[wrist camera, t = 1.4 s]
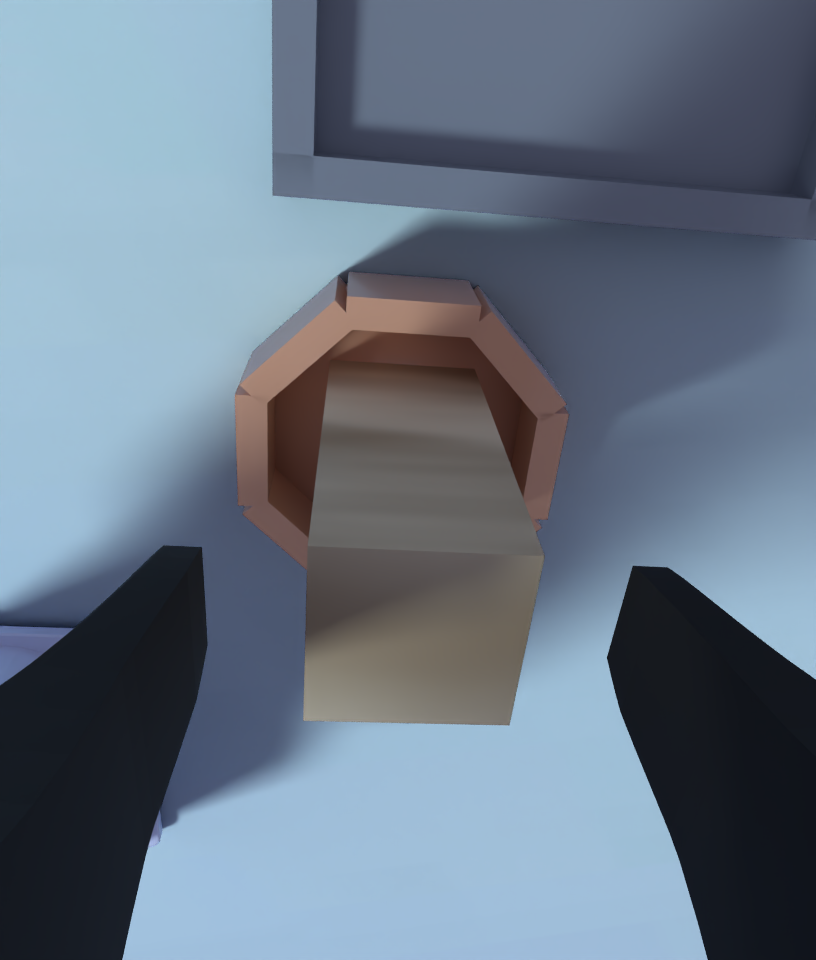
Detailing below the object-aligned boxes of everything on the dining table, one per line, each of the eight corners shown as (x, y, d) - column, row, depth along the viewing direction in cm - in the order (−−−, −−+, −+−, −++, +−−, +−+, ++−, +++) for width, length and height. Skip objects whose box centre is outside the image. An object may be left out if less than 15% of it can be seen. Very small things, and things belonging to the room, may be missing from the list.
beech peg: (457, 493, 20) (509, 725, 13) (325, 486, 19) (303, 721, 12) (474, 369, 18) (544, 556, 11) (330, 359, 18) (307, 546, 11)
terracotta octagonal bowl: (516, 548, 21) (531, 596, 19) (251, 537, 21) (240, 585, 19) (565, 287, 18) (589, 313, 16) (246, 264, 17) (231, 287, 15)
